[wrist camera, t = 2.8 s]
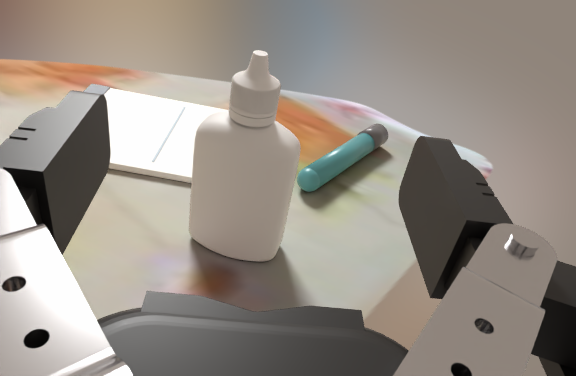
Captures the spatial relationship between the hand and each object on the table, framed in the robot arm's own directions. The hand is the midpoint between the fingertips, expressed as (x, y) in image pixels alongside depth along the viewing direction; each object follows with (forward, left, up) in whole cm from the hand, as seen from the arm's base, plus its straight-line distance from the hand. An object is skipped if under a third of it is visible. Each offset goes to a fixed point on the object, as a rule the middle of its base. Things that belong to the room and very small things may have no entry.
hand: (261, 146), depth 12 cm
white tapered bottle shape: (+11, +1, -14) cm, 18 cm away
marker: (+22, -6, -14) cm, 27 cm away
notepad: (+22, +10, -14) cm, 27 cm away
